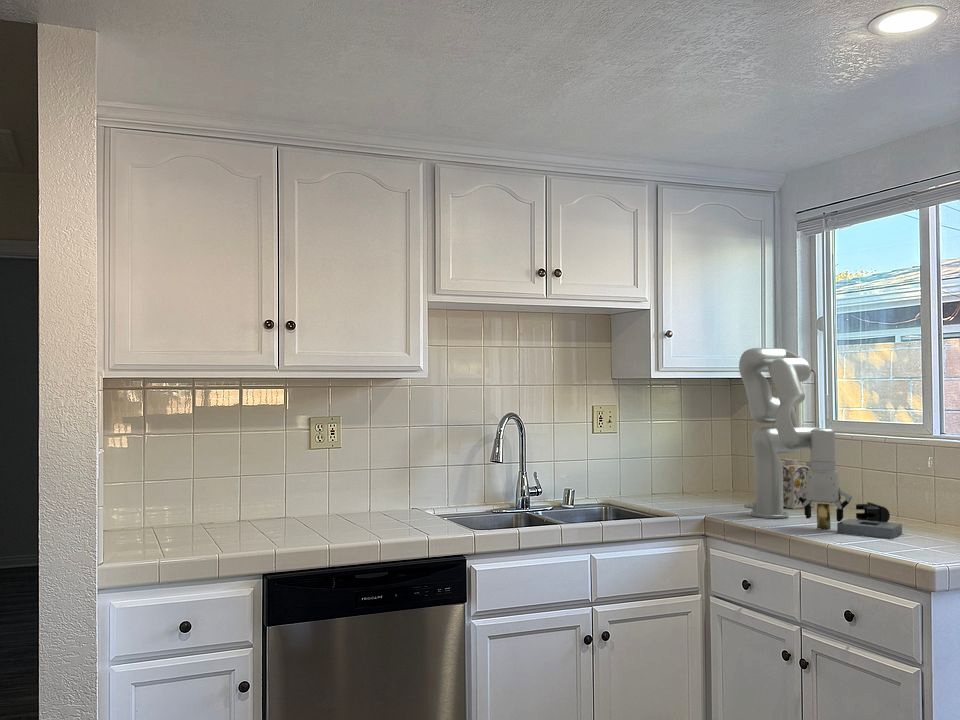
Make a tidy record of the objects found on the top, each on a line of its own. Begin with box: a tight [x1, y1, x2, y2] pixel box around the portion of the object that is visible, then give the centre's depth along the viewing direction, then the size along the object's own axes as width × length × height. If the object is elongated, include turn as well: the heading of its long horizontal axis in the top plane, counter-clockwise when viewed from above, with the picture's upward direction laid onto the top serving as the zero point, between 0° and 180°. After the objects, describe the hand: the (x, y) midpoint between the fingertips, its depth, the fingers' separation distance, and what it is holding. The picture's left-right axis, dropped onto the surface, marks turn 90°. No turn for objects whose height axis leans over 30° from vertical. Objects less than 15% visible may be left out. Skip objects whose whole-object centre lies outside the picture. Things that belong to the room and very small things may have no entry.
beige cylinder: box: [816, 502, 831, 530], centre depth 273 cm, size 4×4×8 cm
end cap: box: [855, 501, 891, 522], centre depth 281 cm, size 10×7×7 cm
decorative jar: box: [782, 458, 815, 510], centre depth 322 cm, size 12×12×18 cm
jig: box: [836, 518, 903, 539], centre depth 264 cm, size 16×12×3 cm
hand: (823, 519), depth 273 cm, fingers open, 9 cm apart
